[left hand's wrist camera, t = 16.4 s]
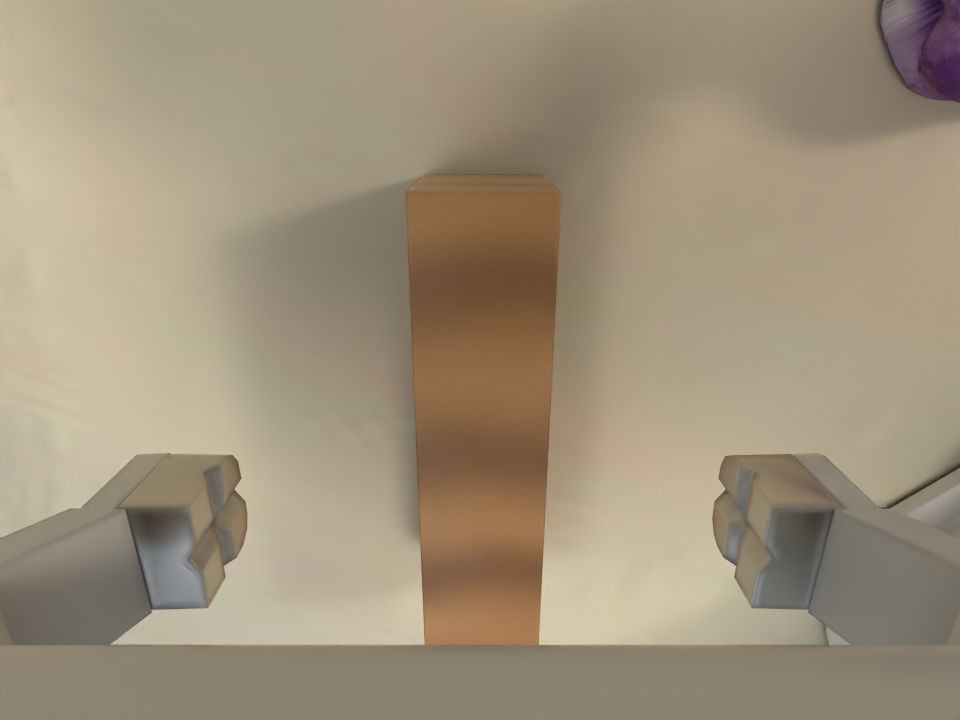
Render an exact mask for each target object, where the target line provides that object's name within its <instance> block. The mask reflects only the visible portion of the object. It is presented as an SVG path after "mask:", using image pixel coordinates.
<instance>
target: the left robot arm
mask: <svg viewBox="0 0 960 720" xmlns="http://www.w3.org/2000/svg"><path fill="white" fill-rule="evenodd" d="M240 480H241V474H240V469H239V464H238V461H237V460H236V459H235V457H234V456H233V455H208V454H170V453H161V454H141V455H136V456H135V457H134V458H133V459H132V460H131V461H130V462H129V463H128V464H127V465H126V466H124V467H123V468H122V469H121V470H120V471H119V472H118V473H117V474H116V475H115V476H114V477H113V478H112V479H111V480H110V481H109V482H108V483H107V484H106V485H104V486H103V487H102V488H101V489H100V490H99V491H98V492H97V493H96V494H95V495H94V496H93V497H92V498H91V499H90V500H89V501H88V502H87V503H86V504H84V505H83V506H82V507H81V508H80V509H68V510H66V511H63V512H61V513H59V514H56V515H54V516H52V517H49V518H47V519H45V520H42V521H40V522H38V523H35V524H33V525H30V526H28V527H26V528H23V529H21V530H19V531H16V532H14V533H12V534H9V535H7V536H5V537H2V538H0V720H960V468H958V469H956V470H955V471H953V472H951V473H950V474H948V475H946V476H944V477H943V478H941V479H939V480H938V481H936V482H934V483H932V484H931V485H929V486H927V487H925V488H924V489H922V490H920V491H919V492H917V493H915V494H913V495H912V496H910V497H908V498H907V499H905V500H903V501H901V502H900V503H898V504H896V505H895V506H893V507H891V508H889V509H880V508H879V507H878V506H877V505H876V504H875V503H873V502H872V501H871V500H870V499H869V498H868V497H867V496H866V495H865V494H864V493H863V492H862V491H861V490H860V489H859V488H858V487H857V486H856V485H855V484H854V483H852V482H851V481H850V480H849V479H848V478H847V477H846V476H845V475H844V474H843V473H842V472H841V471H840V470H839V469H838V468H837V467H836V466H835V465H834V464H833V463H831V462H830V461H829V460H828V459H827V458H826V457H825V456H823V455H820V454H817V453H807V454H771V455H732V456H725V458H724V460H723V462H722V464H721V468H720V473H719V480H720V481H721V483H722V484H723V486H724V487H725V489H726V490H725V491H724V492H723V493H722V494H721V495H720V496H719V497H718V498H717V499H716V500H715V503H714V510H713V518H712V519H713V530H714V537H715V540H716V543H717V546H718V548H719V550H720V552H721V554H722V556H723V558H725V559H726V560H728V561H730V562H731V563H733V564H734V565H736V571H735V576H734V577H735V579H736V581H737V583H738V584H739V586H740V588H741V590H742V591H743V593H744V595H745V597H746V598H747V600H748V602H749V604H750V605H751V607H752V608H768V609H804V610H808V612H809V613H810V614H811V615H813V616H814V617H815V618H816V619H818V620H819V621H820V622H822V623H823V624H824V625H826V635H827V640H828V643H829V645H110V644H111V643H112V642H114V641H115V640H116V639H118V638H119V637H120V636H122V635H123V634H124V633H125V632H127V631H128V630H129V629H131V628H132V627H133V626H135V625H136V624H137V623H139V622H140V621H141V620H142V619H144V618H145V617H146V616H148V615H149V614H150V613H151V612H152V611H151V610H156V609H191V608H208V607H209V605H210V604H211V602H212V600H213V598H214V597H215V595H216V593H217V591H218V590H219V588H220V586H221V584H222V583H223V581H224V579H225V577H226V576H225V571H224V565H226V564H227V563H229V562H230V561H232V560H234V559H235V558H237V556H238V554H239V552H240V550H241V548H242V546H243V544H244V539H245V535H246V531H247V509H246V502H245V500H244V499H243V498H242V497H241V496H240V495H239V494H238V493H237V492H236V491H235V490H234V489H235V487H236V486H237V484H238V483H239V481H240Z"/></svg>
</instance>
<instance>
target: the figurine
mask: <svg viewBox="0 0 960 720" xmlns="http://www.w3.org/2000/svg"><path fill="white" fill-rule="evenodd" d="M880 25H881V26H882V31H883V36H884V39H885V41H886V42H887V43H888V50H889V51H890V53H891V55H892V58H893V61H894V63H895V66H896V68H897V69H898V70H899V72H900V74H901V76H902V78H904V79H905V83H906V84H907V86H908V87H909V88H910V89H911V90H913V91H914V92H916V93H918V94H920V95H922V96H924V97H926V98H929V99H934V100H948V101H955V102H959V103H960V0H884V1H883V4H882V7H881V18H880Z"/></svg>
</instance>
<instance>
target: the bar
mask: <svg viewBox="0 0 960 720" xmlns="http://www.w3.org/2000/svg"><path fill="white" fill-rule="evenodd" d="M560 209H561V192H560V191H559V190H558V189H557V188H556V187H554V186H553V185H552V184H551V183H550V182H549V181H547V180H546V179H545V178H544V177H543V176H542V175H424V176H423V177H422V178H420V179H419V180H418V181H417V182H416V183H415V184H414V185H413V186H412V187H411V188H410V189H409V190H408V191H406V212H407V235H408V259H409V283H410V306H411V330H412V353H413V377H414V401H415V424H416V448H417V472H418V495H419V519H420V543H421V566H422V590H423V613H424V637H425V645H538V644H539V624H540V605H541V585H542V565H543V545H544V526H545V506H546V486H547V466H548V446H549V427H550V407H551V387H552V367H553V348H554V328H555V308H556V288H557V268H558V249H559V229H560Z"/></svg>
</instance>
